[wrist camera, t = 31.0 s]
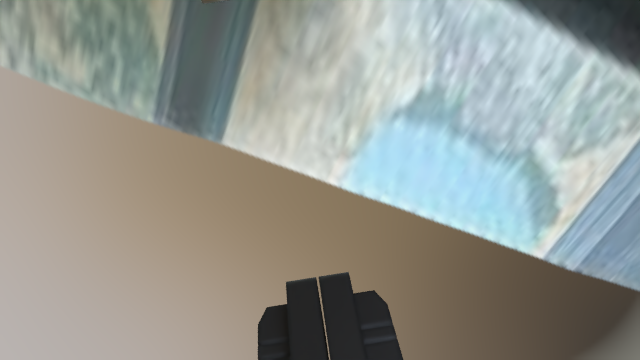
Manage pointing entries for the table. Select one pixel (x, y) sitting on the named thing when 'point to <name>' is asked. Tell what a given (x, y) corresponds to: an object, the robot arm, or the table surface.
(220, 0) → the drawer
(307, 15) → the table surface
